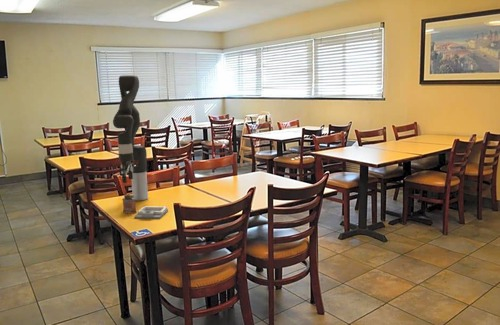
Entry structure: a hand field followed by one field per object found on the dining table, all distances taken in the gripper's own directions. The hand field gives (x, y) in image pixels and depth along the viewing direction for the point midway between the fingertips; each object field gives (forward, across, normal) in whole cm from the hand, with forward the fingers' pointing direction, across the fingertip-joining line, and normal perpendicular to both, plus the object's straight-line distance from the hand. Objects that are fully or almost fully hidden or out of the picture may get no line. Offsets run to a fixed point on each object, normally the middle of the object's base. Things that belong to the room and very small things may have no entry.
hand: (127, 181), depth 234 cm
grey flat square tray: (+18, +4, +14) cm, 23 cm away
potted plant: (+18, 0, 0) cm, 18 cm away
